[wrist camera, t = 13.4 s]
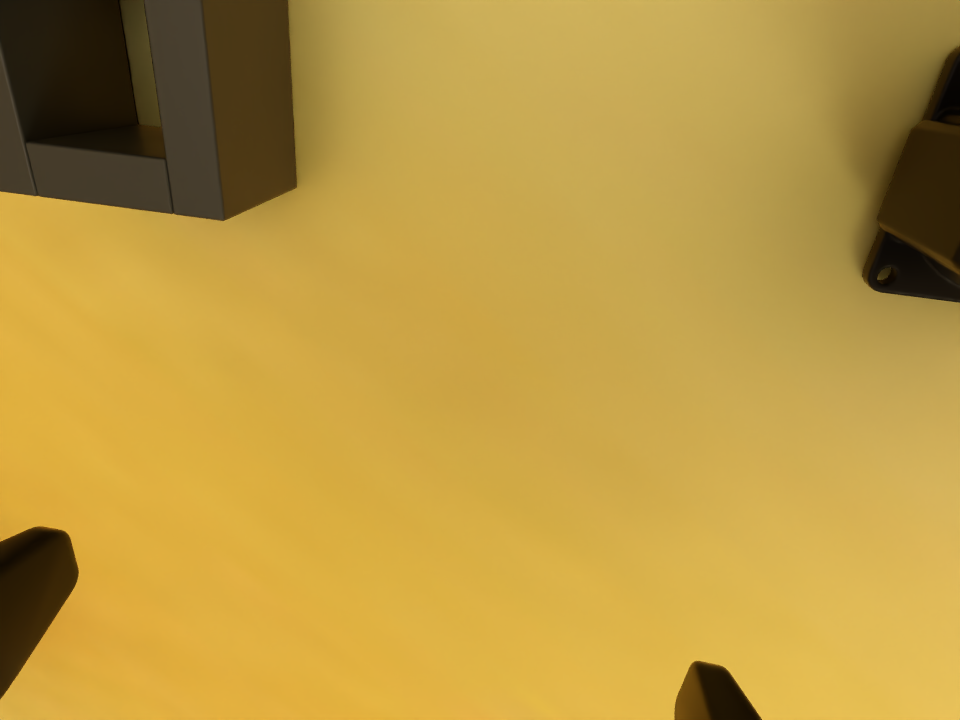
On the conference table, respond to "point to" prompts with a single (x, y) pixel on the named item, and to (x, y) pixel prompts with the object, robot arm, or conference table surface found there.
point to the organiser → (181, 98)
